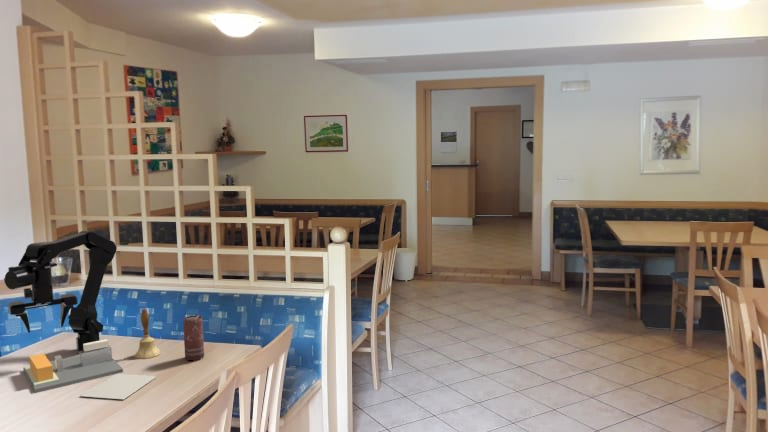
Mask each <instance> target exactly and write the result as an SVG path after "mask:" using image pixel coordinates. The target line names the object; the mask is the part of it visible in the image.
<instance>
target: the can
mask: <svg viewBox="0 0 768 432" xmlns="http://www.w3.org/2000/svg"><path fill="white" fill-rule="evenodd" d="M182 322H183V340H184V341H183V342H184V343H183V344H184V358H185V360H186V361H188V360H197V361H200V360H199V359H201V358H202V359H204V358H205V348H204V347H205V343H204V325H203V324H204V323H203V317H202V316H201V315H189V316H186V317H184V318H183V321H182ZM202 359H201V360H202Z"/></svg>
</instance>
